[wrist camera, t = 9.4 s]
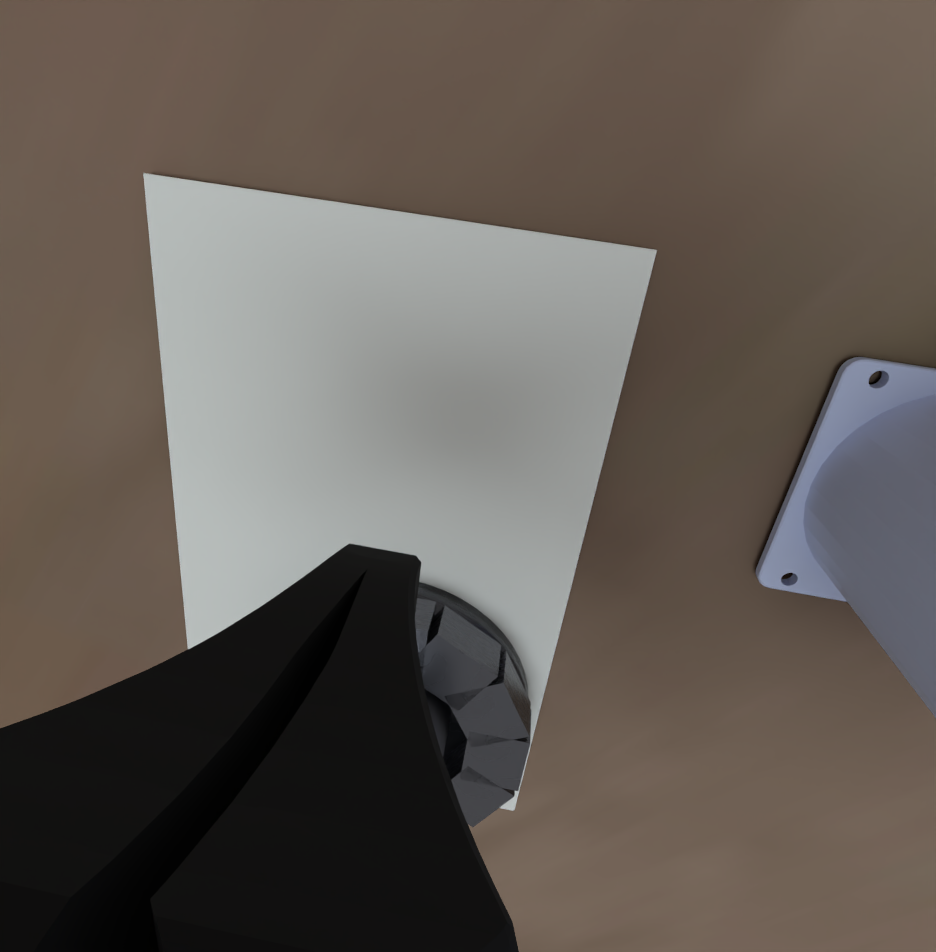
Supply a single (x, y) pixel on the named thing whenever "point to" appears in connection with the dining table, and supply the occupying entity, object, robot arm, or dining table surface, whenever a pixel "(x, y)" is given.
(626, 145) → the dining table surface
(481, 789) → the toothed grey gear
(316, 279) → the mat
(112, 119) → the dining table surface
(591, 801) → the dining table surface
